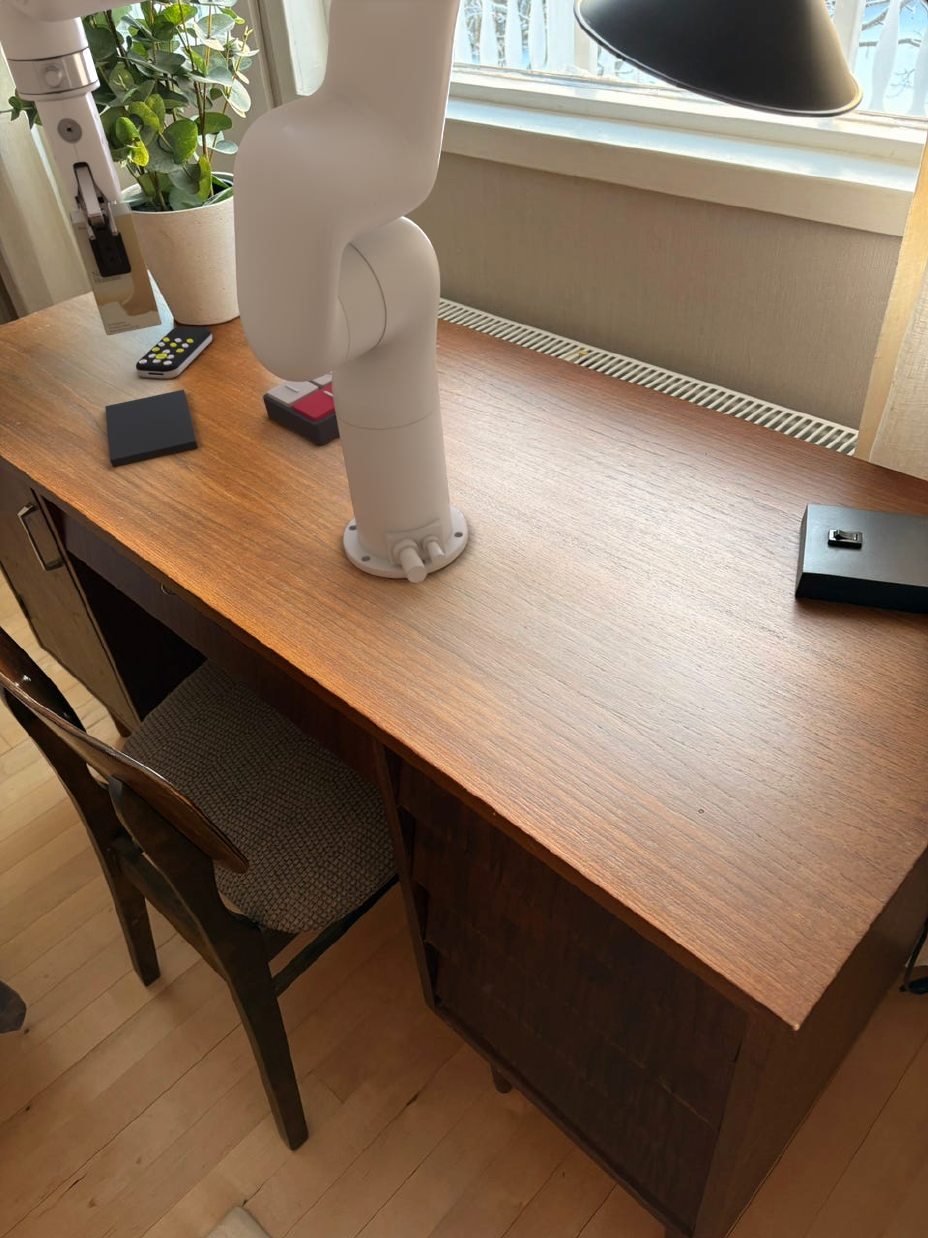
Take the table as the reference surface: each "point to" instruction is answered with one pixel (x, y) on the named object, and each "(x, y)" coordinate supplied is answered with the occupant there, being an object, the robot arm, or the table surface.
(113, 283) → the cosmetic box
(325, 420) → the calculator
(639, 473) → the table surface
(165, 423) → the desk pad
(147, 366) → the remote control
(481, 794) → the table surface
